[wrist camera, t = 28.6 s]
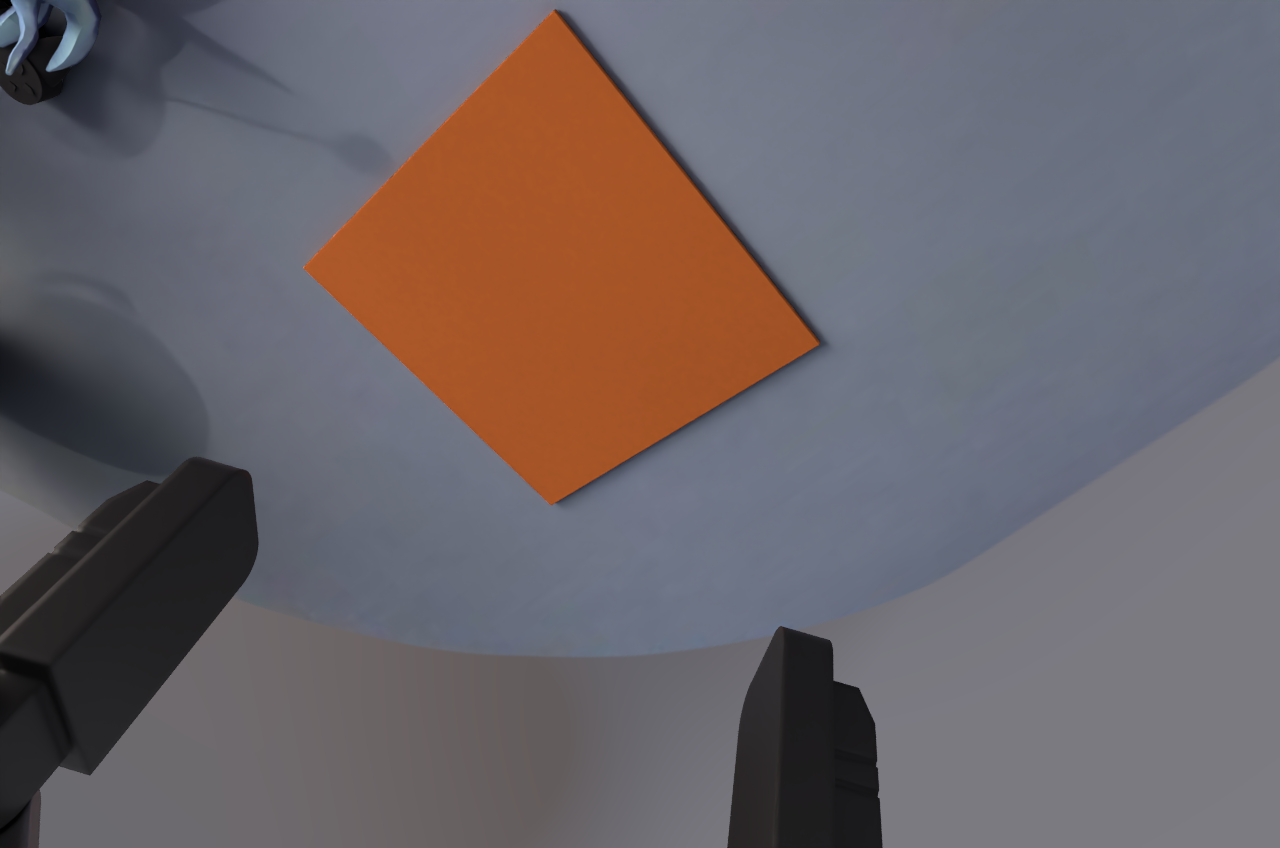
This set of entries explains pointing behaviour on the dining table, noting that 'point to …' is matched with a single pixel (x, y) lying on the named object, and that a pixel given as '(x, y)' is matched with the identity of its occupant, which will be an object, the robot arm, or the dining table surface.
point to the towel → (559, 273)
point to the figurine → (43, 46)
